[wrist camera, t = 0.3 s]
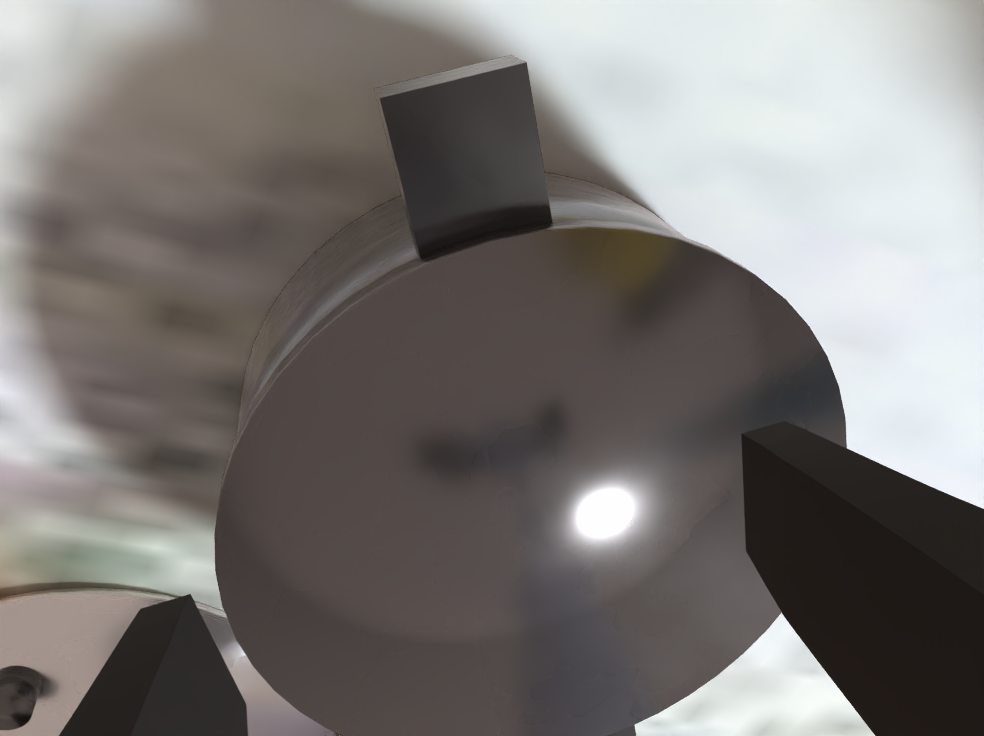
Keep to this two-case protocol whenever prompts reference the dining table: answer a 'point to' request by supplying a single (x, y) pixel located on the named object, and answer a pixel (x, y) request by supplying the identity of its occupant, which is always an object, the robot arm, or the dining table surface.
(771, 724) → the dining table surface
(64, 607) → the lid
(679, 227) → the dining table surface
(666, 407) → the cooking pot
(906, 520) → the robot arm
